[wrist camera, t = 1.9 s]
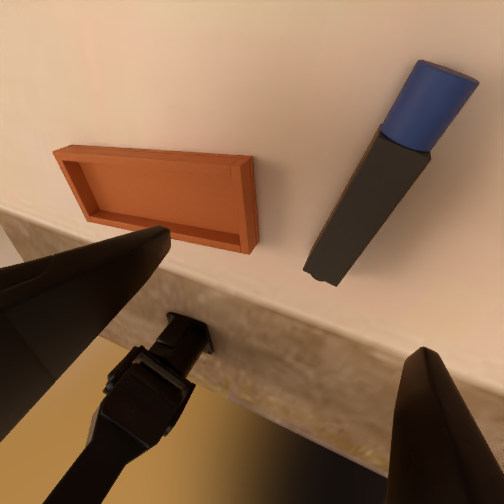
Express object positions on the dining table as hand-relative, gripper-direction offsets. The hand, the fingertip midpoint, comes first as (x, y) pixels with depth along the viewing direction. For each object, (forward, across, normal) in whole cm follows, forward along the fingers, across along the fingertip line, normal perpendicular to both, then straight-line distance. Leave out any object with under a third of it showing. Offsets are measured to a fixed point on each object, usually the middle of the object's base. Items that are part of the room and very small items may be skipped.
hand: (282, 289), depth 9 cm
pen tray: (+12, +14, +8) cm, 21 cm away
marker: (+12, -2, +1) cm, 12 cm away
